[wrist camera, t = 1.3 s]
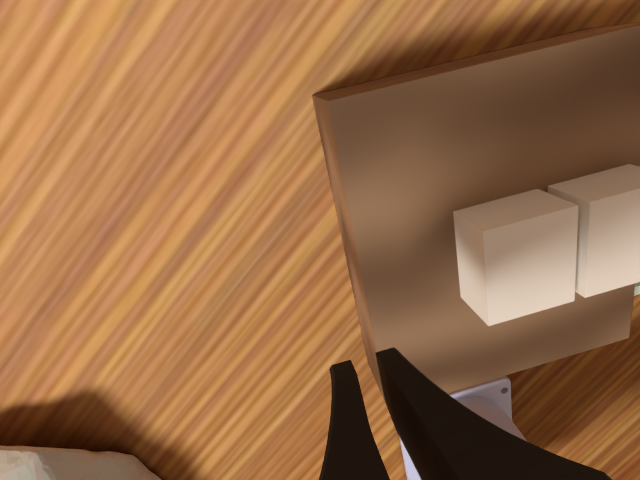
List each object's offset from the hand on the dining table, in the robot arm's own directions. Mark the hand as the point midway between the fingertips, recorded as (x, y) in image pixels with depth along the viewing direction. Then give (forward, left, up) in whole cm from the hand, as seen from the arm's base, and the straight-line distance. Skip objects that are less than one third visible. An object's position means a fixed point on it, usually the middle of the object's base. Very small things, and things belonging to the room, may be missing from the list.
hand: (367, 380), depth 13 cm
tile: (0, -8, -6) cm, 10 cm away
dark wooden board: (0, -9, -10) cm, 13 cm away
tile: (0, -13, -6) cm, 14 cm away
